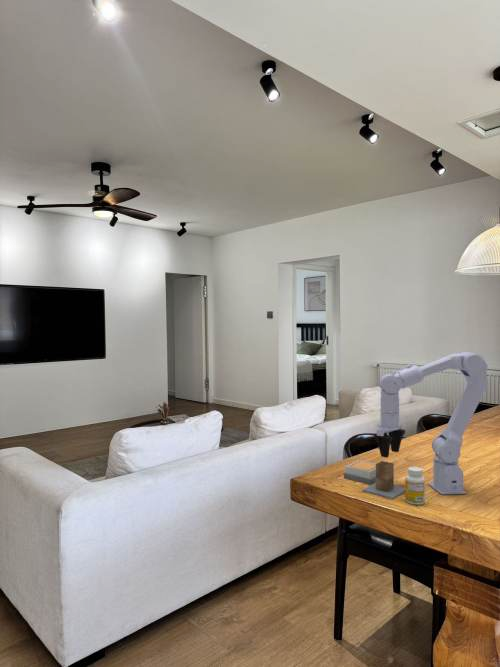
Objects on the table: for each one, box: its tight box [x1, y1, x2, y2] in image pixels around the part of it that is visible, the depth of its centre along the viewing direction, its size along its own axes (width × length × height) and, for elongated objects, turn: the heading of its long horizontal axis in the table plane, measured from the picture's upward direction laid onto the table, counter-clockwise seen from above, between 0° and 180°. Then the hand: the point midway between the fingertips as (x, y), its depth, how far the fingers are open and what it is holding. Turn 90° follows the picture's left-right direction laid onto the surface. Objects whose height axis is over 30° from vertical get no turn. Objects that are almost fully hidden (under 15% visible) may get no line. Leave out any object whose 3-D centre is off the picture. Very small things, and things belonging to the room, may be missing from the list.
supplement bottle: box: [405, 466, 426, 506], centre depth 137 cm, size 5×5×10 cm
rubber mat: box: [362, 482, 406, 500], centre depth 146 cm, size 10×10×1 cm
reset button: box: [350, 460, 376, 471], centre depth 158 cm, size 7×7×2 cm
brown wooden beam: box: [375, 460, 395, 492], centre depth 146 cm, size 4×4×8 cm
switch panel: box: [343, 459, 376, 486], centre depth 159 cm, size 10×10×4 cm
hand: (389, 454), depth 150 cm, fingers open, 7 cm apart
